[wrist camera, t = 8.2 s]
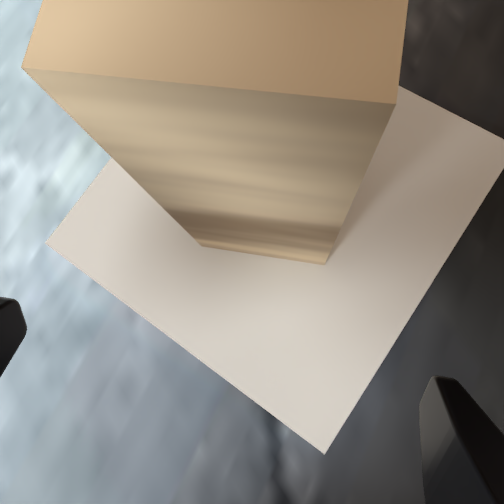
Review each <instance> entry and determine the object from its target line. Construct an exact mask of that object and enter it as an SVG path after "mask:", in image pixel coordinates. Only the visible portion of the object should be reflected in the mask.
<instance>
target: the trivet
mask: <svg viewBox="0 0 504 504" xmlns="http://www.w3.org/2000/svg"><path fill="white" fill-rule="evenodd" d="M503 168H504V139H502V138H500V137H498V136H496V135H494V134H492V133H490V132H488V131H486V130H484V129H483V128H481V127H479V126H477V125H475V124H473V123H471V122H469V121H467V120H465V119H463V118H461V117H459V116H457V115H455V114H453V113H451V112H449V111H447V110H445V109H444V108H442V107H440V106H438V105H436V104H434V103H432V102H430V101H428V100H426V99H424V98H422V97H420V96H418V95H416V94H414V93H412V92H410V91H408V90H406V89H405V88H403V87H401V86H399V85H398V93H397V102H396V106H395V108H394V110H393V113H392V115H391V117H390V119H389V122H388V124H387V126H386V128H385V130H384V133H383V135H382V137H381V139H380V142H379V144H378V146H377V148H376V151H375V153H374V155H373V157H372V160H371V162H370V164H369V166H368V169H367V171H366V173H365V175H364V178H363V180H362V182H361V184H360V186H359V189H358V191H357V193H356V195H355V198H354V200H353V202H352V204H351V207H350V209H349V211H348V213H347V216H346V218H345V220H344V222H343V225H342V227H341V229H340V231H339V234H338V236H337V238H336V240H335V242H334V245H333V247H332V249H331V251H330V254H329V256H328V258H327V260H326V263H325V265H319V264H313V263H306V262H300V261H293V260H287V259H280V258H274V257H268V256H261V255H255V254H248V253H242V252H235V251H229V250H222V249H216V248H209V247H203V246H201V245H200V244H199V243H198V242H197V241H196V240H195V239H194V238H193V237H192V236H191V235H190V234H189V233H188V232H187V231H186V230H185V229H184V228H183V227H182V226H181V225H180V224H179V223H178V222H176V221H175V220H174V219H173V218H172V217H171V216H170V215H169V214H168V213H167V212H166V211H165V210H164V209H163V208H162V207H161V206H160V205H159V204H158V203H157V202H156V201H155V200H154V199H153V198H152V197H151V196H150V195H149V194H148V193H147V192H146V191H145V190H144V189H143V188H142V187H141V186H140V185H139V184H138V183H137V182H136V181H135V180H134V179H133V178H132V177H131V176H130V175H129V174H128V173H127V172H126V171H125V170H124V169H123V168H122V167H121V166H120V165H119V164H118V163H117V162H116V161H115V160H114V159H113V158H112V157H111V159H110V160H109V161H108V162H107V164H106V165H105V166H104V168H103V169H102V170H101V172H100V173H99V174H98V175H97V177H96V178H95V179H94V181H93V182H92V183H91V184H90V186H89V187H88V188H87V190H86V191H85V192H84V193H83V195H82V196H81V197H80V199H79V200H78V201H77V202H76V204H75V205H74V206H73V208H72V209H71V210H70V211H69V213H68V214H67V215H66V217H65V218H64V219H63V220H62V222H61V223H60V224H59V226H58V227H57V228H56V230H55V231H54V232H53V233H52V235H51V236H50V237H49V239H48V240H47V241H46V242H45V244H47V245H48V246H49V247H51V248H52V249H53V250H55V251H56V252H57V253H59V254H60V255H61V256H63V257H64V258H65V259H67V260H68V261H69V262H71V263H72V264H73V265H75V266H76V267H77V268H79V269H80V270H81V271H83V272H84V273H85V274H86V275H88V276H89V277H90V278H92V279H93V280H94V281H96V282H97V283H98V284H100V285H101V286H102V287H104V288H105V289H106V290H108V291H109V292H110V293H112V294H113V295H114V296H116V297H117V298H118V299H120V300H121V301H122V302H124V303H125V304H126V305H128V306H129V307H130V308H132V309H133V310H134V311H136V312H137V313H138V314H139V315H141V316H142V317H143V318H145V319H146V320H147V321H149V322H150V323H151V324H153V325H154V326H155V327H157V328H158V329H159V330H161V331H162V332H163V333H165V334H166V335H167V336H169V337H170V338H171V339H173V340H174V341H175V342H177V343H178V344H179V345H181V346H182V347H183V348H185V349H186V350H187V351H188V352H190V353H191V354H192V355H194V356H195V357H196V358H198V359H199V360H200V361H202V362H203V363H204V364H206V365H207V366H208V367H210V368H211V369H212V370H214V371H215V372H216V373H218V374H219V375H220V376H222V377H223V378H224V379H226V380H227V381H228V382H230V383H231V384H232V385H234V386H235V387H236V388H238V389H239V390H240V391H241V392H243V393H244V394H245V395H247V396H248V397H249V398H251V399H252V400H253V401H255V402H256V403H257V404H259V405H260V406H261V407H263V408H264V409H265V410H267V411H268V412H269V413H271V414H272V415H273V416H275V417H276V418H277V419H279V420H280V421H281V422H283V423H284V424H285V425H287V426H288V427H289V428H290V429H292V430H293V431H294V432H296V433H297V434H298V435H300V436H301V437H302V438H304V439H305V440H306V441H308V442H309V443H310V444H312V445H313V446H314V447H316V448H317V449H318V450H320V451H321V452H322V453H324V454H325V453H326V451H327V450H328V448H329V446H330V445H331V443H332V442H333V440H334V438H335V437H336V435H337V434H338V432H339V430H340V429H341V427H342V426H343V424H344V422H345V421H346V419H347V418H348V416H349V414H350V413H351V411H352V410H353V408H354V406H355V405H356V403H357V402H358V400H359V398H360V397H361V395H362V394H363V392H364V390H365V389H366V387H367V386H368V384H369V382H370V381H371V379H372V378H373V376H374V374H375V373H376V371H377V370H378V368H379V366H380V365H381V363H382V362H383V360H384V358H385V357H386V355H387V354H388V352H389V350H390V349H391V347H392V346H393V344H394V343H395V341H396V339H397V338H398V336H399V335H400V333H401V331H402V330H403V328H404V327H405V325H406V323H407V322H408V320H409V319H410V317H411V315H412V314H413V312H414V311H415V309H416V307H417V306H418V304H419V303H420V301H421V299H422V298H423V296H424V295H425V293H426V291H427V290H428V288H429V287H430V285H431V283H432V282H433V280H434V279H435V277H436V275H437V274H438V272H439V271H440V269H441V267H442V266H443V264H444V263H445V261H446V259H447V258H448V256H449V255H450V253H451V251H452V250H453V248H454V247H455V245H456V243H457V242H458V240H459V239H460V237H461V235H462V234H463V232H464V231H465V229H466V227H467V226H468V224H469V223H470V221H471V219H472V218H473V216H474V215H475V213H476V212H477V210H478V208H479V207H480V205H481V204H482V202H483V200H484V199H485V197H486V196H487V194H488V192H489V191H490V189H491V188H492V186H493V184H494V183H495V181H496V180H497V178H498V176H499V175H500V173H501V172H502V170H503Z"/></svg>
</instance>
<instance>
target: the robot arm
mask: <svg viewBox="0 0 504 504" xmlns="http://www.w3.org/2000/svg"><path fill="white" fill-rule="evenodd" d="M26 331H27V325H26V322H25V319H24V316H23V313H22V310H21V307H20V304H19V303H18V301H16V300H15V299H11V298H5V297H0V377H1V375H2V374H3V372H4V370H5V369H6V367H7V365H8V364H9V362H10V360H11V359H12V357H13V355H14V354H15V352H16V350H17V349H18V347H19V345H20V344H21V342H22V340H23V339H24V337H25V335H26ZM419 421H420V438H421V455H422V472H423V486H424V495H425V502H426V504H504V435H503V433H502V432H501V431H500V430H499V429H498V428H497V426H496V425H495V424H494V423H493V422H492V421H491V419H490V418H489V417H488V416H487V415H486V413H485V412H484V411H483V410H482V409H481V408H480V406H479V405H478V404H477V403H476V402H475V401H474V399H473V398H472V397H471V396H470V395H469V394H468V392H467V391H466V390H465V389H464V388H463V387H462V385H461V384H460V383H459V382H458V381H457V380H455V379H453V378H448V377H442V376H433V377H432V378H431V379H430V381H429V383H428V386H427V388H426V390H425V393H424V395H423V397H422V399H421V402H420V407H419Z"/></svg>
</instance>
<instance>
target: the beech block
mask: <svg viewBox="0 0 504 504" xmlns="http://www.w3.org/2000/svg"><path fill="white" fill-rule="evenodd" d="M407 8H408V0H43V1H42V5H41V8H40V11H39V14H38V17H37V20H36V23H35V26H34V29H33V32H32V35H31V38H30V41H29V44H28V48H27V51H26V54H25V57H24V60H23V63H22V66H21V68H22V69H23V70H24V71H25V72H26V73H27V74H28V75H29V76H30V77H31V78H32V79H33V80H34V81H35V82H36V83H37V84H38V85H39V86H40V87H41V88H42V89H43V90H44V91H45V92H46V93H47V94H48V95H49V96H50V97H51V98H52V99H53V100H54V101H55V102H56V103H57V104H58V105H59V106H60V107H61V108H62V109H63V110H65V111H66V112H67V113H68V114H69V115H70V116H71V117H72V118H73V119H74V120H75V121H76V122H77V123H78V124H79V125H80V126H81V127H82V128H83V129H84V130H85V131H86V132H87V133H88V134H89V135H90V136H91V137H92V138H93V139H94V140H95V141H96V142H97V143H98V144H99V145H100V146H101V147H102V148H103V149H104V150H105V151H106V152H107V153H108V154H109V155H110V156H111V157H112V158H113V159H114V160H115V161H116V162H117V163H118V164H119V165H120V166H121V167H122V168H123V169H124V170H125V171H126V172H127V173H128V174H129V175H130V176H131V177H132V178H133V179H134V180H135V181H136V182H137V183H138V184H139V185H140V186H141V187H142V188H143V189H144V190H145V191H146V192H147V193H148V194H149V195H150V196H151V197H152V198H153V199H154V200H155V201H156V202H157V203H158V204H159V205H160V206H161V207H162V208H163V209H164V210H165V211H166V212H167V213H168V214H169V215H170V216H171V217H172V218H173V219H174V220H175V221H176V222H178V223H179V224H180V225H181V226H182V227H183V228H184V229H185V230H186V231H187V232H188V233H189V234H190V235H191V236H192V237H193V238H194V239H195V240H196V241H197V242H198V243H199V244H200V245H201V246H203V247H209V248H216V249H222V250H229V251H235V252H242V253H248V254H255V255H261V256H268V257H274V258H280V259H287V260H293V261H300V262H306V263H313V264H319V265H325V263H326V260H327V258H328V256H329V254H330V251H331V249H332V247H333V245H334V242H335V240H336V238H337V236H338V234H339V231H340V229H341V227H342V225H343V222H344V220H345V218H346V216H347V213H348V211H349V209H350V207H351V204H352V202H353V200H354V198H355V195H356V193H357V191H358V189H359V186H360V184H361V182H362V180H363V178H364V175H365V173H366V171H367V169H368V166H369V164H370V162H371V160H372V157H373V155H374V153H375V151H376V148H377V146H378V144H379V142H380V139H381V137H382V135H383V133H384V130H385V128H386V126H387V124H388V122H389V119H390V117H391V115H392V113H393V110H394V108H395V106H396V102H397V93H398V85H399V76H400V68H401V59H402V51H403V42H404V34H405V25H406V17H407Z"/></svg>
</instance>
